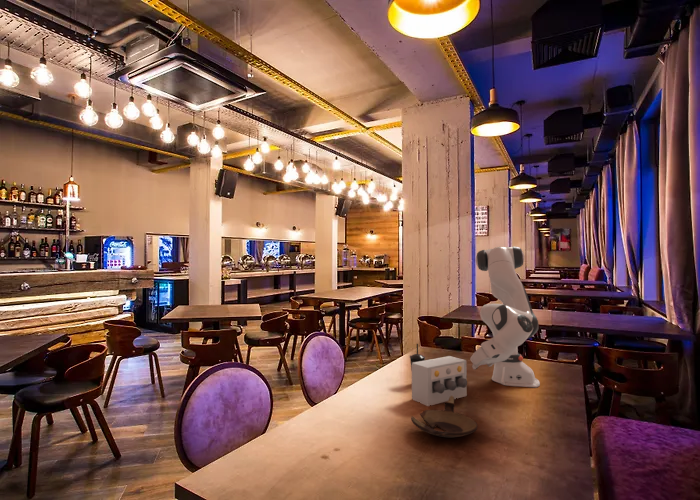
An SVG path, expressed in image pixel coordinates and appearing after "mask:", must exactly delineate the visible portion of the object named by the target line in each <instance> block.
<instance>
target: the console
mask: <svg viewBox="0 0 700 500" xmlns="http://www.w3.org/2000/svg"><path fill="white" fill-rule="evenodd" d="M458 377H461V378H465V379H466V380H468V379H467V359H462V358H458V357H454V356H451V355H447V356H443V357H437V358H432V359H426V360H424V361H419V362H413V363H412V371H411V400H412V399H413V401H414V402H418V403H419V402H420V404H422V405H424V406H426V407H430V405H431V406H434V405H438V404H443V403H445V402H447V401H448V400H449V398H450V396H453V397H454V400H456V398H457V399H459V398H463V397H464V398H465V397H467V395H468V393H467V390H468V389H467V388H468V385H467V386H466V387H465V388H462V387H459V386H457V385H456V388H455V390H453V391H452V390H449V389H446V388H445V390H444V392H443V393H438V392H435V391H434V390H433V385H434V383H435V382H439V383H442V384H444V386H445V381H446V380H448V379H449V380H452V381H455V382H456V379H457V378H458Z"/></svg>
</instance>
